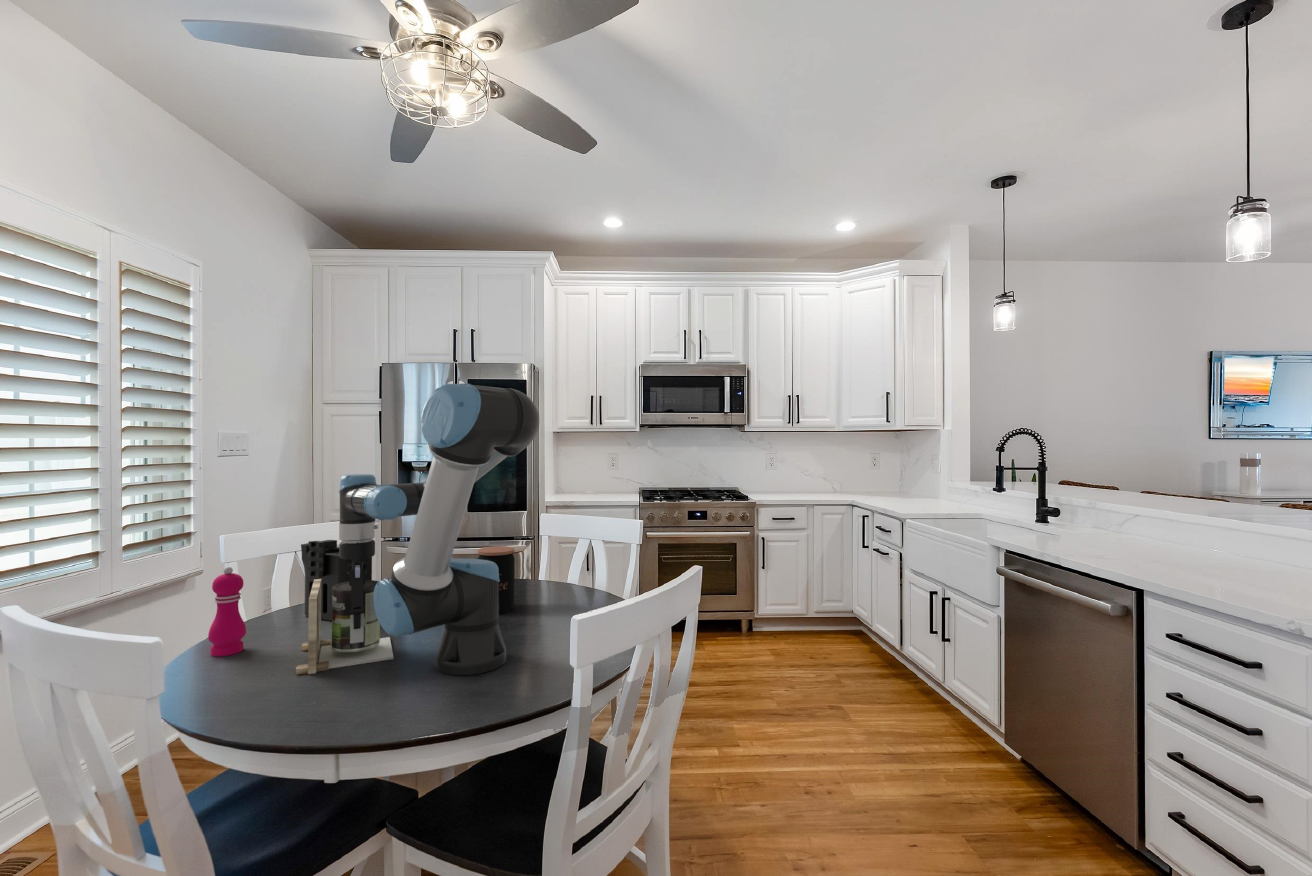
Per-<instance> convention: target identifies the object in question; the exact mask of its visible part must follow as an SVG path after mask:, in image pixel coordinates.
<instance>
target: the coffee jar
mask: <svg viewBox="0 0 1312 876" xmlns="http://www.w3.org/2000/svg"><path fill="white" fill-rule="evenodd" d="M515 551H516V549H515V548H514V547H512V546H508V545H507V546H505V545H501V546H500V545H495V546H492V545H491V546H485V547H481V548H478V549H477V554H478V555H479V556H478V557H477V559H481V560H488V561H492V562H494V563H496V564H497V566H498V569H499V580H500V582H499V613H502V614H504V613H503V612H506V613H508V612H507V611H509V610H511V609H512V610H513V608H514V607H515V573H516V572H515V564H516V563H515V555H514V552H515ZM512 610H511V611H512ZM509 612H510V611H509Z"/></svg>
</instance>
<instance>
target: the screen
mask: <svg viewBox="0 0 1312 876" xmlns="http://www.w3.org/2000/svg"><path fill="white" fill-rule="evenodd" d="M321 622H322V619H321V579H316V580H314V582H313V585H312V589H311V593H310V596H309V617H308V627H307V628H308V630H307V631H308V637H307V640H308V641H307V642H302V643H301V652H305V651H306V652H307V653H308V654H307V663H306V664H305V663H304V664H299V665H296V667H295V675H296V676H298V675H305V674H307V675H311V674H312V675H313V674H317V672H324V671H329V669H328V665H329V661H324V662H319V657H320V650H321V646H327V645H332V638H330V639H329V638H328V639H321V629H322V628H321V627H322V625H321V624H322V623H321Z"/></svg>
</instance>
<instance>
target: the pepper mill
mask: <svg viewBox="0 0 1312 876" xmlns="http://www.w3.org/2000/svg"><path fill="white" fill-rule="evenodd" d="M233 571H234V570H233V568H232V567H231V566H227V567H225V568H224V569H223V574H220V575H217V577H216V578H214V579H213V582H212V585H211V589H212V592H213V593H215V595H214V603H216V614H215V617H214V619H213V621H212V624H211V625H210V627H209V630H208V634H207V638H208V641H209V642H211V644H213V645H212V646H210V656H212V657H218V658H219V657H220V658H221V657H227V656H228V657H229V656H233V655H235V654H239V653H241V652H242V651H244V641H243V640H242V639H243V638H244V637H245V636H246V634H247V625H246V623H245V622H244V619H243V618H242V616H241V614H240V609H239V600H241V599H242V597H241V595H242V593H241V592H240V591H241V590H243V589H242V588H244V579H243V577H242V576H241V575H240V574H237V573H233Z"/></svg>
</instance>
